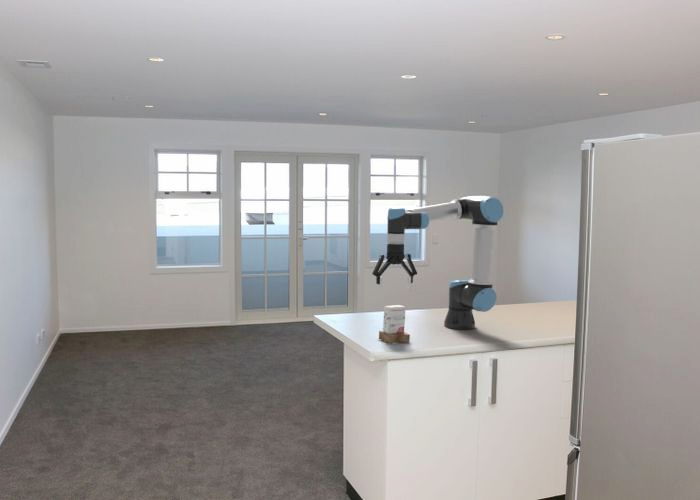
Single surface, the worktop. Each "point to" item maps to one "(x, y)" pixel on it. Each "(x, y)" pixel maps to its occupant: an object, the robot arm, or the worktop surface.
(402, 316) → the ink box
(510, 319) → the worktop surface
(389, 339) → the walnut block
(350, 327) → the worktop surface
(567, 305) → the worktop surface
